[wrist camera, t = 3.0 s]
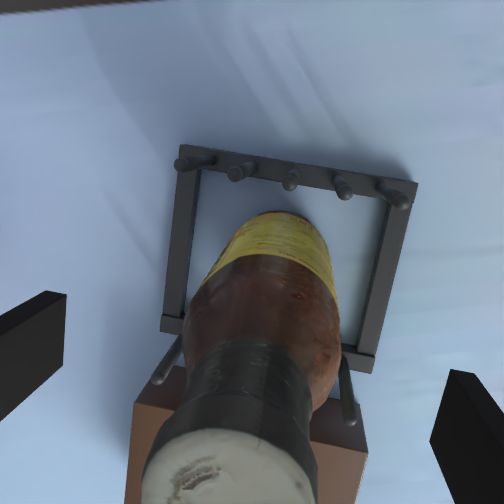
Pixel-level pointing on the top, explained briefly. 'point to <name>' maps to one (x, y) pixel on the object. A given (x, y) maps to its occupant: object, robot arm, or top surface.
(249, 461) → the sauce bottle
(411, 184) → the dish rack
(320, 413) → the brown rectangular block
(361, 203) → the top surface
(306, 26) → the top surface
